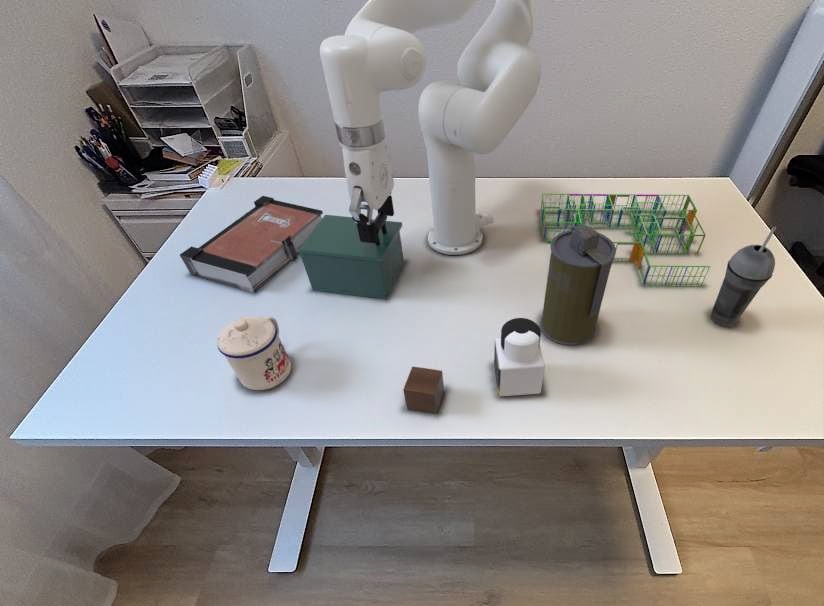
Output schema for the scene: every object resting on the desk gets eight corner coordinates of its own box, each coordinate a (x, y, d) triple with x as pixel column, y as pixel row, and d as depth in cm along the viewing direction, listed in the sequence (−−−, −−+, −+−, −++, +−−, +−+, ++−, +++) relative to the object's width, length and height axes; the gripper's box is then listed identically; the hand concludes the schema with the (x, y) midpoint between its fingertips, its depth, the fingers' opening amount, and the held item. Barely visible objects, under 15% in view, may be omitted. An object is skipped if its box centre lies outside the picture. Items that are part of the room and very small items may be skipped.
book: (257, 293, 93) (247, 273, 89) (191, 274, 97) (179, 254, 94) (329, 228, 109) (324, 209, 105) (270, 214, 113) (262, 195, 109)
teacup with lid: (280, 395, 76) (253, 345, 67) (229, 389, 77) (196, 339, 68) (307, 344, 84) (287, 294, 75) (261, 339, 84) (235, 289, 76)
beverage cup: (742, 310, 89) (796, 216, 74) (743, 335, 84) (801, 240, 69) (703, 303, 90) (748, 208, 75) (702, 326, 86) (750, 231, 71)
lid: (402, 225, 93) (399, 202, 89) (382, 262, 85) (377, 238, 81) (326, 218, 95) (319, 195, 91) (299, 252, 87) (291, 229, 83)
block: (415, 386, 77) (412, 366, 73) (444, 390, 76) (442, 370, 73) (407, 409, 74) (402, 389, 70) (436, 413, 73) (434, 394, 69)
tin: (404, 262, 100) (398, 225, 93) (385, 299, 92) (378, 262, 85) (336, 254, 102) (326, 218, 95) (312, 290, 94) (299, 253, 87)
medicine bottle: (493, 365, 80) (495, 313, 71) (534, 363, 80) (540, 310, 71) (498, 397, 75) (500, 346, 66) (541, 394, 76) (549, 343, 66)
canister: (529, 319, 88) (539, 225, 72) (572, 301, 91) (590, 208, 76) (563, 355, 81) (582, 260, 66) (608, 334, 85) (636, 239, 70)
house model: (681, 211, 113) (688, 193, 109) (718, 286, 94) (727, 266, 90) (539, 210, 114) (541, 191, 110) (547, 284, 95) (550, 264, 91)
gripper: (363, 156, 68) (382, 255, 81) (399, 114, 79) (410, 207, 92) (316, 152, 69) (341, 251, 81) (357, 110, 80) (374, 203, 93)
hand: (378, 227), depth 87 cm, fingers open, 9 cm apart
